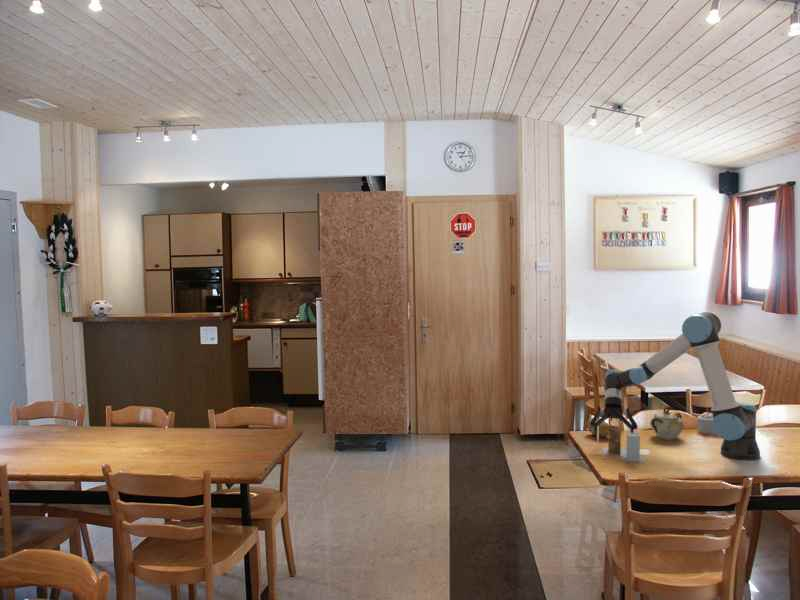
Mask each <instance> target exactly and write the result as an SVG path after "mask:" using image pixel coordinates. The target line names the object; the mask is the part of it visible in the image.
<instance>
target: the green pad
mask: <svg viewBox="0 0 800 600" xmlns="http://www.w3.org/2000/svg"><path fill="white" fill-rule="evenodd" d="M640 455H645V456H650V451H649V449H645V448H640Z"/></svg>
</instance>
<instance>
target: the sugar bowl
mask: <svg viewBox="0 0 800 600" xmlns="http://www.w3.org/2000/svg"><path fill="white" fill-rule="evenodd" d="M682 419H683V418H682V414H681V413H680V412H677V413H670V407H668V406H665V407H664V408H663V411H662V412H661V413H657V414H655V415H654V416H653V417H651V419H650V423H649V424H650V427H651V429H652V430H653V432H654V433H655V435H656V436H657V437H658V438H659V437H660V438H659V439H661V438H662V439H661V440H668V441H669V440H670V441H671V440H676V439H677V438H678V437H679V435H680V434H681V433H682V431H683V430H684V427H685V423H684V421H683V420H682Z"/></svg>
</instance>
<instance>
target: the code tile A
mask: <svg viewBox="0 0 800 600" xmlns="http://www.w3.org/2000/svg"><path fill="white" fill-rule="evenodd" d="M602 455H606V456H616V457H617V456H619V457H623V456H627V448H626V449H624V448H621V454H614V453H609V450H608V447H602Z"/></svg>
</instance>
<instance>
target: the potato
mask: <svg viewBox="0 0 800 600" xmlns="http://www.w3.org/2000/svg"><path fill="white" fill-rule="evenodd" d="M593 418H594V417H593ZM593 418H590V419H588V420H587V428H588V429H587V430H588V431H589V432H590V433H591V434H592V435H593V436H595V437H597V434H595V433H594V427H593V426H592V427H591V426H590V422H591V421H592V419H593ZM599 419H600V418H598V419H597V420H596V422H597V421H598V420H599ZM596 422H595V423H596ZM609 426H612V425H611V424H610V423H609V422H606V421H604V422H603V423H602V424H600V425H599V438H600V437H601V438H606V437H608V432H609Z"/></svg>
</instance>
